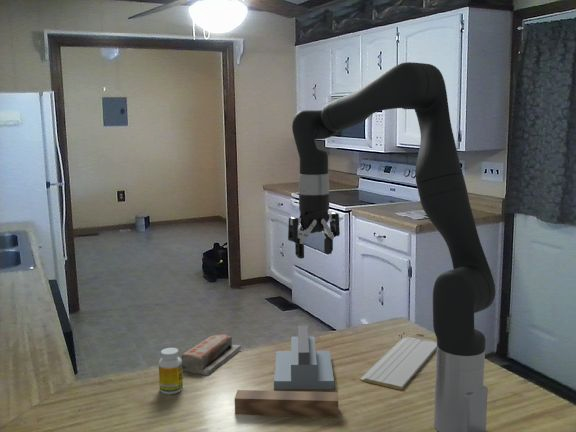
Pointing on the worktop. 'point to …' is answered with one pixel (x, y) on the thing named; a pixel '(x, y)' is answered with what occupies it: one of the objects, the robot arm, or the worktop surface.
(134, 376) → the worktop surface
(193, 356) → the packaged product
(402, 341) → the baseboard molding
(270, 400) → the walnut batten
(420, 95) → the robot arm
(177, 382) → the supplement bottle
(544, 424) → the worktop surface
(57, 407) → the worktop surface
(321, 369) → the ridge stand
